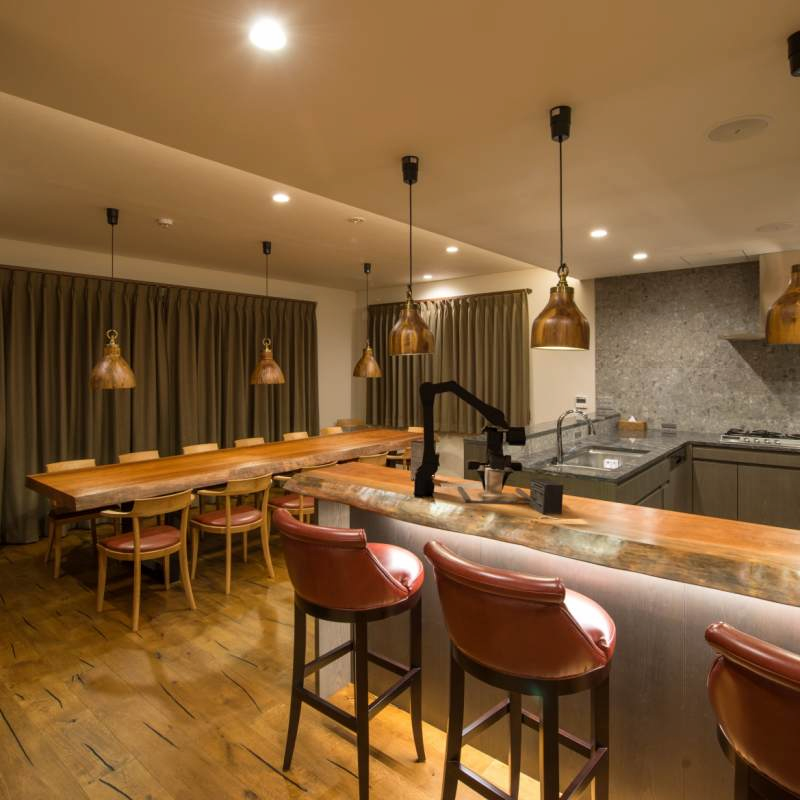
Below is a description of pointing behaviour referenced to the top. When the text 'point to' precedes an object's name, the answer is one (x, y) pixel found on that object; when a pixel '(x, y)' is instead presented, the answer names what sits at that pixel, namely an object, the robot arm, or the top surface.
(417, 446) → the coffee box
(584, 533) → the top surface
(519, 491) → the rack
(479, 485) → the mat
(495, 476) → the tan brown block
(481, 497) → the upper offcut
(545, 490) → the small box
